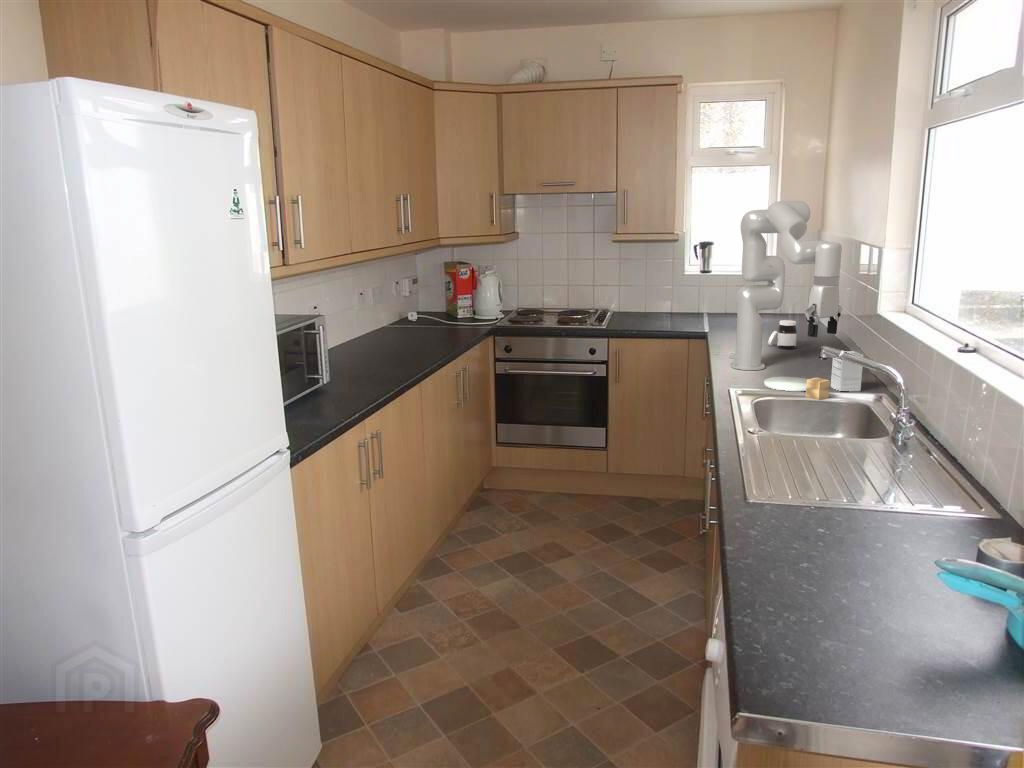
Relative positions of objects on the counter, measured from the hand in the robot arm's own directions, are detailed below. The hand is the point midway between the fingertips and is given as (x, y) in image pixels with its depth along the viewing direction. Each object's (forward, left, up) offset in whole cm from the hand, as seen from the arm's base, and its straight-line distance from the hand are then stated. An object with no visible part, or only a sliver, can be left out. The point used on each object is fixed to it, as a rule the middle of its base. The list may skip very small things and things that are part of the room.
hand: (822, 335), depth 246 cm
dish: (-15, +6, -21) cm, 26 cm away
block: (0, 0, -21) cm, 21 cm away
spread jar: (-63, +60, -21) cm, 89 cm away
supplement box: (-1, +17, -21) cm, 27 cm away
